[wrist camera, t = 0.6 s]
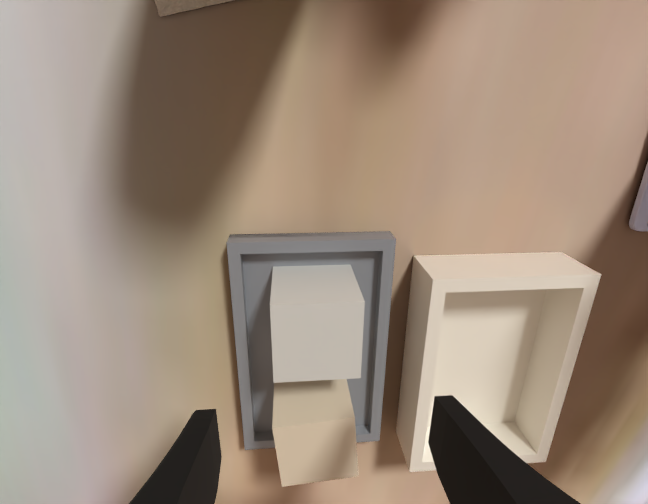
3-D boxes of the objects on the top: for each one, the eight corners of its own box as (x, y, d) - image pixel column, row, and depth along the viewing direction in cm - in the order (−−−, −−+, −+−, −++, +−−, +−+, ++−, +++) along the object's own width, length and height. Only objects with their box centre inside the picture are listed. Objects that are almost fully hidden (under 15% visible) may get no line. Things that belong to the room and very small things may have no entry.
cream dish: (560, 251, 22) (601, 274, 19) (518, 423, 26) (545, 461, 23) (413, 255, 21) (433, 279, 18) (395, 431, 25) (409, 472, 23)
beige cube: (343, 365, 23) (354, 417, 19) (347, 417, 24) (358, 476, 20) (274, 373, 22) (272, 428, 19) (282, 426, 24) (281, 486, 20)
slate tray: (389, 231, 20) (395, 239, 19) (375, 425, 25) (379, 440, 24) (229, 234, 20) (226, 242, 18) (246, 433, 24) (244, 449, 23)
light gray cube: (350, 264, 20) (364, 301, 16) (348, 330, 22) (360, 378, 18) (272, 266, 20) (269, 305, 16) (275, 333, 21) (273, 382, 18)
